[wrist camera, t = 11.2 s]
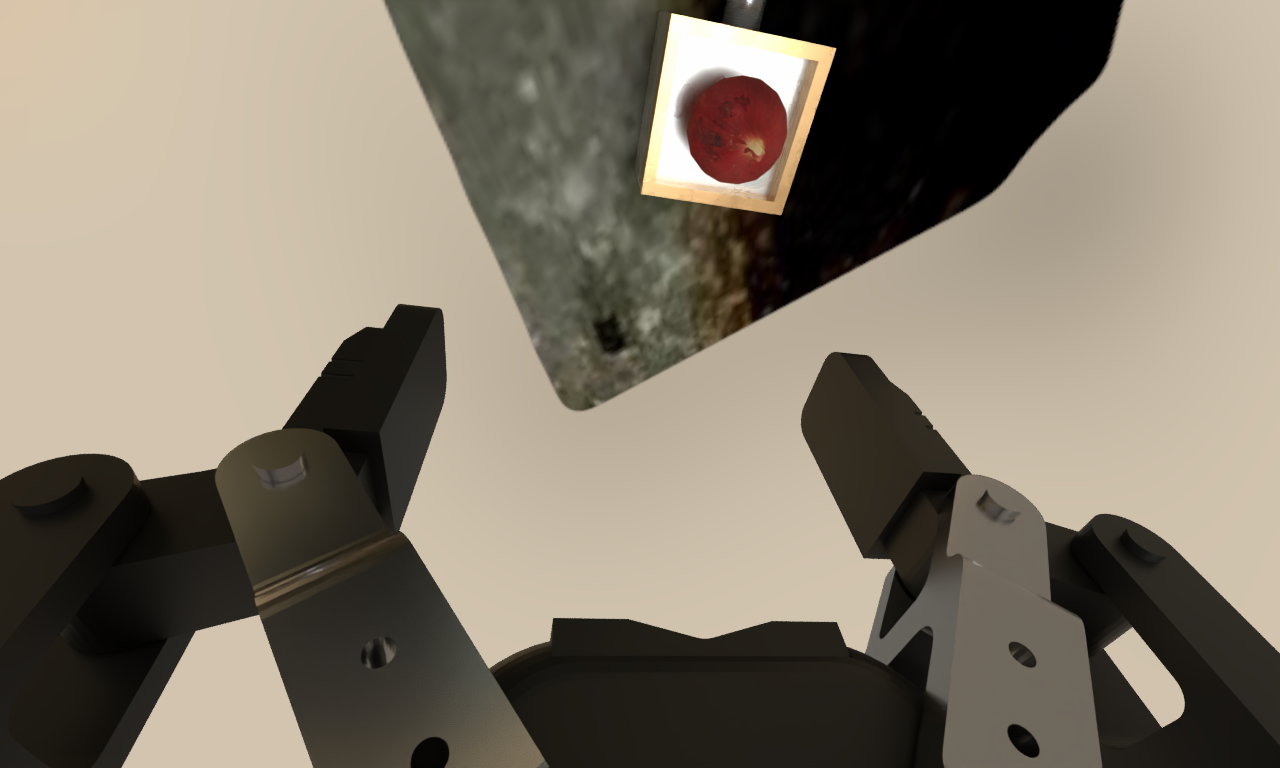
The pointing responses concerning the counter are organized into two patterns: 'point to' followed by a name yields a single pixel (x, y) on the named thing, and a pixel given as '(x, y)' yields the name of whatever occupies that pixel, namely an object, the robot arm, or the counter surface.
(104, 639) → the robot arm
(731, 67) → the wooden tray
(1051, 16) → the counter surface
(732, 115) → the onion
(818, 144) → the counter surface
